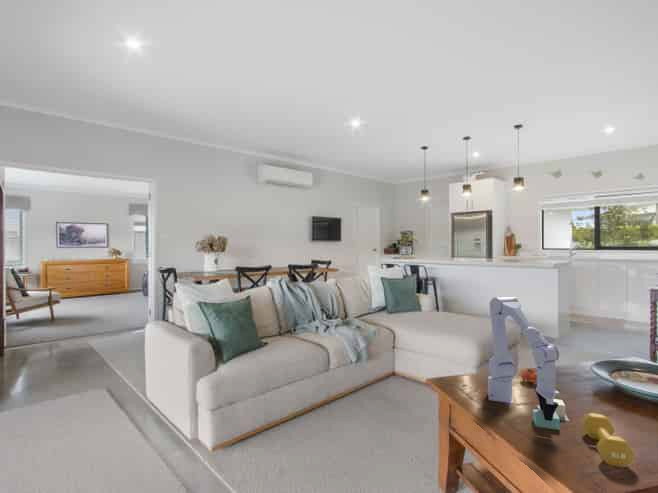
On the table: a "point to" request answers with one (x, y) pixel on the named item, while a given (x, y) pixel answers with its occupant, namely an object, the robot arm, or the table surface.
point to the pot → (529, 376)
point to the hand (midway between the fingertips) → (546, 415)
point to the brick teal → (541, 422)
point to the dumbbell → (608, 441)
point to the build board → (558, 416)
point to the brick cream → (560, 408)
